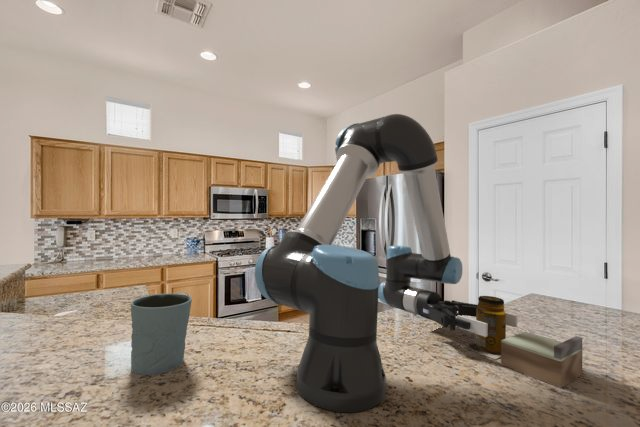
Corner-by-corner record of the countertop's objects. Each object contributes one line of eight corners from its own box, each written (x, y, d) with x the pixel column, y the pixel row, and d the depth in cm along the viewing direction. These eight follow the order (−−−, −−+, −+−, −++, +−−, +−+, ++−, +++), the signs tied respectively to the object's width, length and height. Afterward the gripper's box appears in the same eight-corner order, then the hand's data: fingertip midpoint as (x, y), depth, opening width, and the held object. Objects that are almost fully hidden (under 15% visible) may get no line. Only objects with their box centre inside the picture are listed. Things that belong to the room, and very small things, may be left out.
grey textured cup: (177, 348, 61) (181, 291, 62) (196, 366, 54) (200, 301, 54) (120, 362, 54) (125, 297, 55) (133, 385, 47) (138, 310, 47)
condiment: (513, 352, 67) (513, 299, 67) (495, 360, 62) (495, 303, 63) (481, 341, 73) (482, 293, 73) (462, 347, 68) (463, 296, 69)
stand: (560, 388, 51) (560, 348, 52) (501, 364, 60) (501, 330, 60) (582, 373, 57) (582, 337, 58) (525, 354, 66) (525, 322, 66)
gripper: (449, 311, 90) (527, 333, 72) (392, 322, 76) (471, 353, 58) (449, 286, 90) (527, 303, 72) (393, 293, 76) (472, 315, 59)
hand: (502, 325), depth 65 cm, fingers open, 13 cm apart
